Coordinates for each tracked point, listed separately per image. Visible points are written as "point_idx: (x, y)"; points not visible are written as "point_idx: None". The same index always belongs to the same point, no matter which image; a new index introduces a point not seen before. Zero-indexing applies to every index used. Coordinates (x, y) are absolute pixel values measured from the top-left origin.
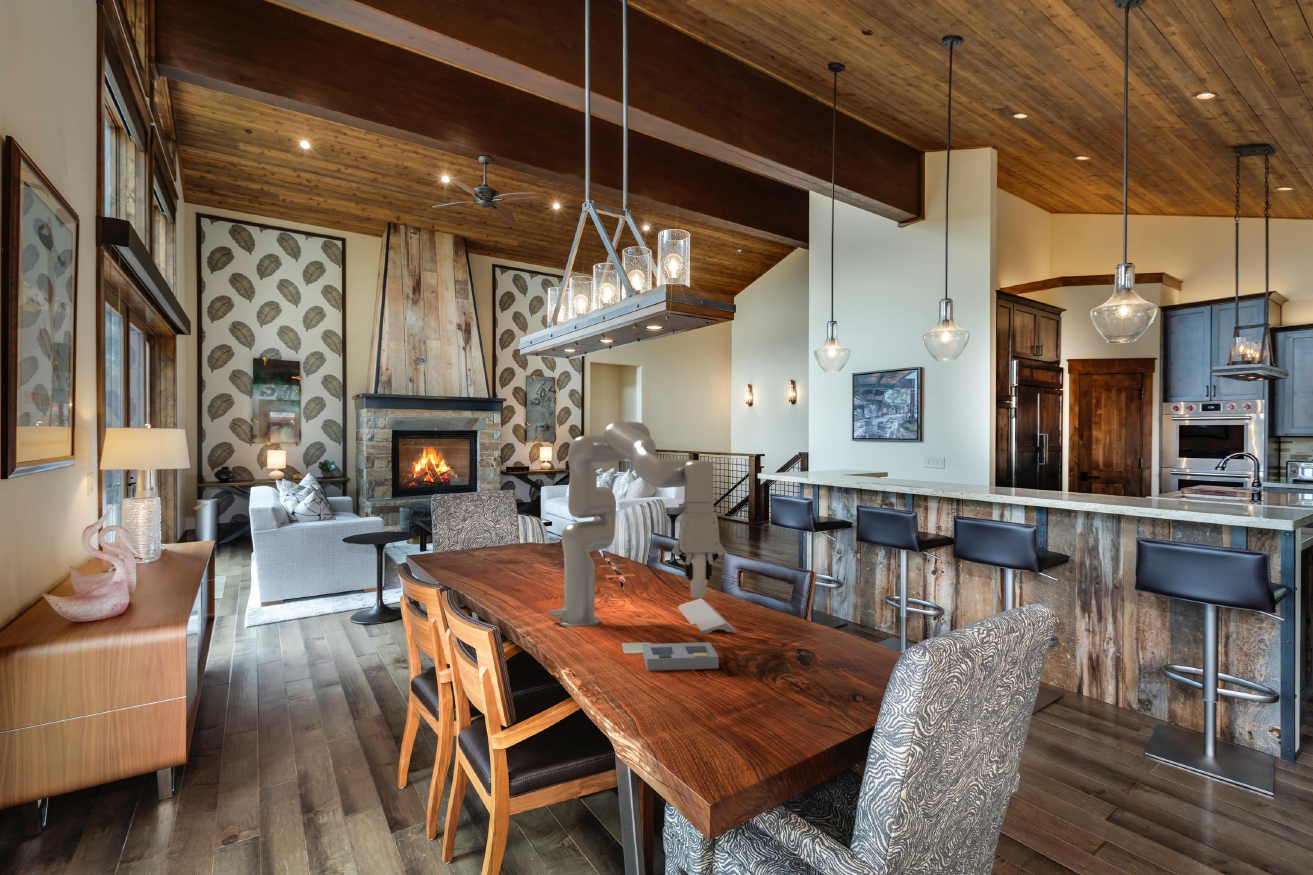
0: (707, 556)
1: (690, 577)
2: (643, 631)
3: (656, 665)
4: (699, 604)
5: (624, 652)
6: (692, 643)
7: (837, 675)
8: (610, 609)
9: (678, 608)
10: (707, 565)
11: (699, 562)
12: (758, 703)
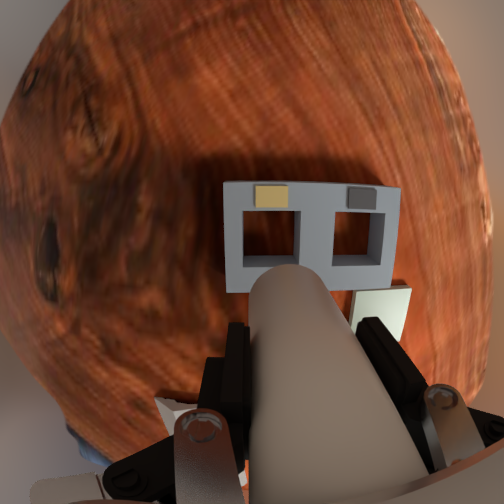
0: (240, 486)
1: (375, 324)
2: None
3: (375, 185)
4: None
5: (409, 292)
6: None
7: (22, 169)
8: None
9: (246, 480)
10: (244, 401)
11: (350, 404)
12: (183, 32)
